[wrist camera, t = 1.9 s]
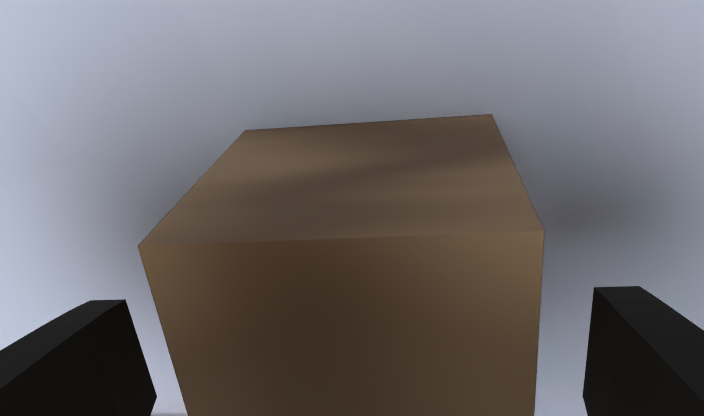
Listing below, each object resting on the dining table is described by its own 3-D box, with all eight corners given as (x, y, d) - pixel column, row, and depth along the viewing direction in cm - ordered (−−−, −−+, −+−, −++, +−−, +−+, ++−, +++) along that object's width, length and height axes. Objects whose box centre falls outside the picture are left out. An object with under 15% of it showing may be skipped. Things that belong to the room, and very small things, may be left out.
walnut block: (491, 113, 11) (543, 231, 6) (489, 320, 13) (528, 519, 8) (246, 129, 12) (137, 245, 7) (281, 324, 14) (216, 510, 9)
